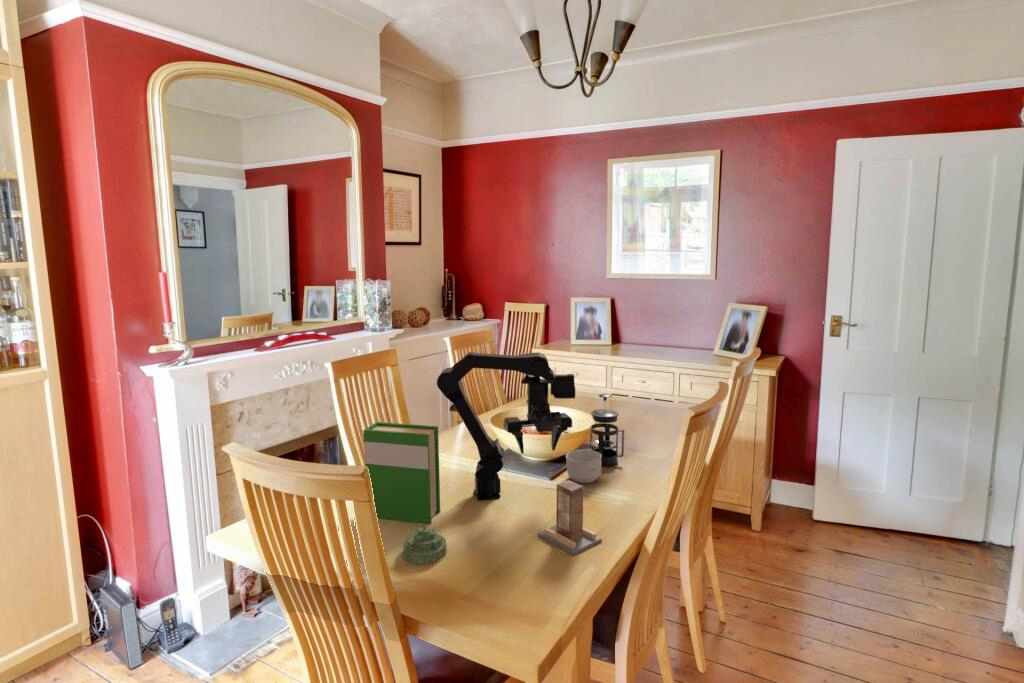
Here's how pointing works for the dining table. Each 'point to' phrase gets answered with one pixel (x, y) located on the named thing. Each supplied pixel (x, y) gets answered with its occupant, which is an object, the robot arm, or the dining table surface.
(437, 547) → the decorative artifact
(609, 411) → the french press
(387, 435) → the hardback book
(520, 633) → the dining table surface
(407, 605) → the dining table surface
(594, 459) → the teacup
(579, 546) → the grey stand base
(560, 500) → the wooden block
